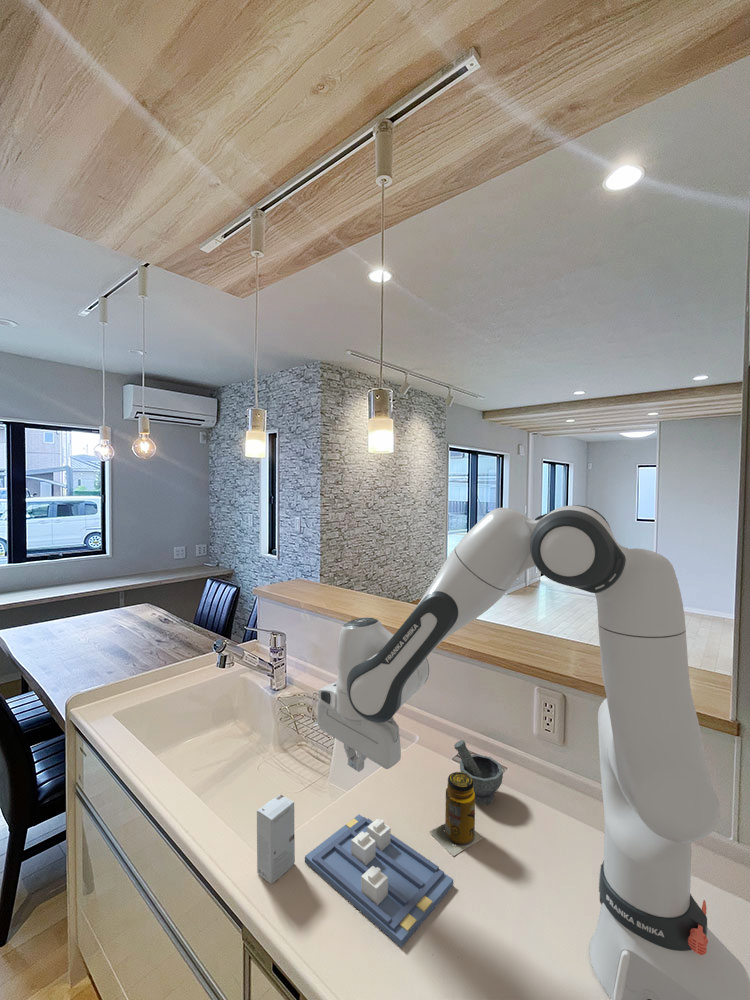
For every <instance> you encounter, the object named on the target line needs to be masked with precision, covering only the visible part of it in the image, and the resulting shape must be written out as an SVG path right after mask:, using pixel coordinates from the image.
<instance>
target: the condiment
mask: <svg viewBox="0 0 750 1000" xmlns="http://www.w3.org/2000/svg"><path fill="white" fill-rule="evenodd" d="M475 817H476V803H475V792H474V788H473V779H472V778H471V776H469V775H468V774H466V773H463V772H461V771H455V772H452V773H450V774H449V775H448V777H447V787H446V789H445V822H444V823H443V824H441V825H439V826H437V827H435V828H433V829H432V830H430V831H429V833H430V834H431V836H432V837H433V838H434V839H436V841H438V843H439V844H440V845H441V846H442V847H443V848H444V849H445V850H446V851H447V852H448V853H450V854H451V855H452V856H453V857H455V856H456V855H458V854H460V853H461V852H463V851H464V850H466V849H468V848H470V847H472V846H474V845H475V844H476V843H478V842H479V841H481V840H483V839H484V838H485V837H484V836H483V835H481V833H479V832H478V831H476V829H475V828H476V827H475V824H476V822H475V821H476V819H475Z"/></svg>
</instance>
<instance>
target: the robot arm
mask: <svg viewBox="0 0 750 1000" xmlns="http://www.w3.org/2000/svg"><path fill="white" fill-rule="evenodd" d="M609 524H610V523H609V522H608V521H607V519H606V518H605V517H604V515H602V514H601V513H600V512H598V511H597V510H595V509H594V508H592V507H589V506H585V505H580V504H577V505H576V504H575V505H574V504H573V505H565V506H564V505H563V506H561V507H558V508H554V510H552V511H549V512H547V513H545V514H542V515H540V516H537V517H536V518H534V519H531V518H529V517H528V516H526V515H524V514H523V513H521V512H520V511H518V510H515V509H512V508H508V507H498V508H494V509H492V510H490V511H489V512H488V513H487V514H485V515H484V516H483V517H481V519H480V520H479V521H477V523H476V524H474V526H473V527H472V528H470V529H469V531H468V532H467V533H466V534H465V535H464V536H463V537H462V538H461V540H459V542H458V543H457V545H456V546H455V547H454V548H453V550H452V551H451V553H449V555H448V556H447V558H446V560H445V561H444V563H442V565H441V568H440V569H439V570H438V572H437V574H436V576H435V577H434V579H433V580H432V582H431V583H430V585H429V587H428V588H427V590H426V592H425V593H424V594H423V596H422V597H421V599H420V601H419V602H418V603H417V604H416V607H415V608H414V610H412V612H411V613H410V615H409V616H407V618H406V620H405V621H404V622H403V624H402V625H401V626H400V627H399V628H398V629H397V630H396V631H395V633H392V632H391V631H389V630H388V629H387V628H385V626H384V625H383V623H382V622H381V620H379V619H377V618H374V617H366V616H365V617H359V618H354V619H351V620H349V621H348V622H346V623H344V624H343V625H341V628H340V631H339V634H338V640H337V642H338V643H337V651H336V665H337V666H336V667H337V670H338V674H337V679H336V681H334V682H332V683H329V684H328V685H325V686H323V687H320V688H319V689H318V691H317V696H318V697H317V698H318V699H319V700H318V702H317V712H316V713H317V714H316V720H317V721H316V723H317V725H318V728H319V729H320V730H321V731H322V732H325V733H326V734H327V735H329V736H331V737H333V739H336V740H337V741H339V742H341V743H342V744H343V749H344V752H345V754H346V757H347V766H349V767H350V768H352V769H353V770H355V771H356V772H358V773H359V772H361V771H363V770H364V768H365V761H366V759H369V760H370V761H372V762H374V763H375V764H377V765H379V766H380V767H382V768H384V769H385V770H388V769H391V768H392V767H394V766H395V765H397V764H398V763H399V762H400V760H401V757H402V752H401V750H402V749H401V738H400V736H401V735H400V726H399V724H397V722H396V721H395V719H394V715H395V714H396V713H397V712H398V711H399V709H400V708H401V707H402V706H403V705H404V704H406V703H407V701H408V700H410V699H411V698H412V697H413V696H414V695H415V694H416V693H417V692H418V691H419V690H420V689H421V688H422V687H423V686H424V684H426V683H427V680H428V678H429V674H430V664H429V661H428V656H430V655H431V653H432V652H433V651H434V650H435V649H436V648H437V646H439V645H440V644H441V643H442V642H443V641H445V640H446V639H447V638H448V637H449V636H451V635H453V634H454V633H456V632H457V631H459V630H460V629H463V627H465V626H466V625H468V624H469V623H471V622H472V621H474V620H477V619H478V618H479V617H480V616H481V615H483V614H484V613H486V612H487V611H488V610H490V609H491V608H492V607H494V605H495V604H497V602H498V601H500V599H501V598H502V597H503V596H505V594H506V593H507V592H508V591H509V589H510V588H511V587H512V586H513V585H514V584H515V582H516V581H517V580H518V579H519V577H520V576H521V575H522V574H524V572H526V571H527V570H528V569H531V568H534V567H536V568H537V570H538V571H539V572H540V573H541V574H542V575H543V577H545V578H547V579H549V580H550V581H552V582H555V583H557V584H560V585H563V586H567V587H572V588H575V589H578V590H582V591H585V592H588V593H591V594H594V596H595V599H596V607H597V622H598V639H599V642H598V643H599V654H600V668H601V678H602V682H603V686H604V691H605V697H606V698H605V699H603V701H602V702H601V704H600V706H599V708H598V710H597V711H598V712H597V728H598V730H597V731H598V749H599V768H600V769H599V770H600V780H601V793H602V803H603V814H604V815H603V818H604V832H603V834H604V836H603V861H602V863H601V864H600V869H599V873H598V875H599V876H598V877H599V878H598V892H599V903H600V908H599V909H600V910H599V915H598V920H597V924H596V927H595V931H594V933H593V936H592V938H591V940H590V943H589V958H590V962H591V966H592V969H593V972H594V974H595V976H596V978H597V980H598V981H599V983H600V984H601V986H602V987H603V989H604V990H605V992H606V993H607V995H608V996H610V997H611V999H612V1000H750V977H749V973H748V972H747V970H746V968H745V967H744V964H742V962H741V961H740V960H739V959H738V958H737V956H735V955H734V954H733V952H731V950H729V948H727V946H725V945H724V943H723V942H722V941H721V940H720V939H719V938H718V937H717V936H716V935H715V934H714V933H713V931H712V930H711V929H710V928H709V927H708V916H707V909H708V908H707V904H706V903H707V902H706V900H705V899H703V902H702V906H701V907H700V906H699V904H698V903H697V902H696V900H695V898H694V897H693V896H692V894H691V878H692V875H691V874H692V851H693V850H692V843H694V842H698V841H701V840H703V839H705V838H707V837H708V836H709V835H711V834H712V833H713V832H714V831H715V830H716V828H717V826H718V825H719V821H720V818H721V805H720V801H719V798H718V795H717V791H716V788H715V786H714V785H715V784H714V782H713V780H712V776H711V773H710V772H711V771H710V769H709V765H708V761H707V759H708V758H707V756H706V750H705V745H704V740H703V735H702V731H701V728H700V723H699V718H698V715H697V710H696V708H695V703H694V702H695V701H694V699H693V695H692V689H691V682H690V674H689V673H690V670H689V661H688V660H689V657H688V645H687V644H688V643H687V630H686V629H687V628H686V627H687V626H686V618H685V617H686V616H685V610H684V603H683V597H682V593H681V589H680V585H679V582H678V581H679V580H678V578H677V574H676V571H675V568H674V566H673V564H672V562H671V561H670V560H669V559H668V558H667V557H665V556H664V555H662V554H660V553H657V552H656V551H653V550H650V549H644V548H628V547H625V546H623V545H621V544H620V543H619V542H617V541H616V538H615V537H614V533H613V532H612V529H611V527H610V525H609ZM610 997H609V998H610ZM611 999H610V1000H611Z"/></svg>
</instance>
